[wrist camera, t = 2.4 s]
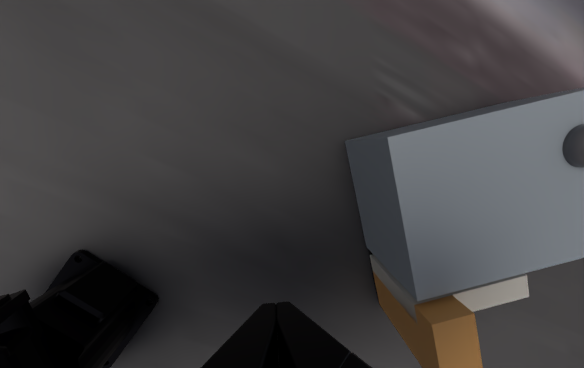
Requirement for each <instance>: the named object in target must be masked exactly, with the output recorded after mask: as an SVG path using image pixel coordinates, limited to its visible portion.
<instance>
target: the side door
mask: <svg viewBox="0 0 584 368" xmlns="http://www.w3.org/2000/svg"><path fill="white" fill-rule="evenodd" d="M370 260H371V265H372V270H373V275H374V280H375V285H376V290H377V295H378V299H379V304H380V306H381V307H382V309H383V310H384V312H385V313H386V315H387V316H388V318H389V319H390V321H391V322H392V324H393V325H394V327H395V328H396V330H397V331H398V332H399V334H400V335H401V337H402V338H403V340H404V341H405V343H406V344H407V346H408V347H409V349H410V350H411V352H412V353H413V355H414V356H415V357H416V359H417V360H418V362H419V363H420V365H421V366H422V368H483V367H482V360H481V353H480V347H479V340H478V334H477V327H476V321H475V314H474V313H473V312H474V311H478V310H481V309H485V308H489V307H493V306H496V305H500V304H504V303H508V302H511V301H515V300H519V299H523V298H526V297H529V290H528V282H527V275H525V274H520V275H516V276H512V277H508V278H505V279H501V280H497V281H493V282H489V283H486V284H482V285H478V286H474V287H470V288H467V289H463V290H459V291H455V292H451V293H448V294H444V295H440V296H436V297H432V298H429V299H425V300H421V301H417V300H416V299H415V298H414V297H413V296H412V295H411V294H410V293H409V292H408V291H407V290H406V289H405V288H404V287H403V285H402V284H401V283H400V282H399V281H398V280H397V279H396V278H395V277H394V276H393V275H392V274H391V273H390V272H389V271H388V269H387V268H386V267H385V266H384V265H383V264H382V263H381V262H380V261H379V260H378V259H377V258H376V257H375V256H374V255H373V254H372V255H370Z"/></svg>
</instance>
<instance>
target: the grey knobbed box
mask: <svg viewBox="0 0 584 368" xmlns="http://www.w3.org/2000/svg"><path fill="white" fill-rule="evenodd" d="M345 146H346V150H347V155H348V160H349V165H350V170H351V175H352V180H353V184H354V189H355V194H356V199H357V204H358V209H359V214H360V219H361V223H362V228H363V233H364V238H365V243H366V247H367V248H368V249H369V250H370V251H371V252H372V254H373V255H374V256H375V257H376V258H377V259H378V260H379V261H380V262H381V263H382V264H383V265H384V266H385V267H386V268H387V269H388V271H389V272H390V273H391V274H392V275H393V276H394V277H395V278H396V279H397V280H398V281H399V282H400V283H401V284H402V285H403V287H404V288H405V289H406V290H407V291H408V292H409V293H410V294H411V295H412V296H413V297H414V298H415V299H416V300H417V301H421V300H425V299H429V298H432V297H436V296H440V295H444V294H448V293H451V292H455V291H459V290H463V289H467V288H470V287H474V286H478V285H482V284H486V283H489V282H493V281H497V280H501V279H505V278H508V277H512V276H516V275H520V274H524V273H527V272H531V271H535V270H539V269H542V268H546V267H550V266H554V265H558V264H561V263H565V262H569V261H573V260H577V259H580V258H584V88H578V89H573V90H568V91H563V92H557V93H552V94H547V95H542V96H536V97H531V98H526V99H520V100H515V101H510V102H505V103H501V104H497V105H492V106H488V107H484V108H480V109H476V110H471V111H467V112H463V113H459V114H455V115H451V116H446V117H442V118H438V119H434V120H430V121H425V122H421V123H417V124H413V125H409V126H405V127H400V128H396V129H392V130H388V131H384V132H379V133H375V134H371V135H367V136H363V137H359V138H354V139H350V140H346V141H345Z"/></svg>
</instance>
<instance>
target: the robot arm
mask: <svg viewBox="0 0 584 368" xmlns="http://www.w3.org/2000/svg"><path fill="white" fill-rule="evenodd" d="M78 256H81V257H82V260H80V259H79V258H78ZM148 299H151V300H152V301H153V303H150V302H149V301H148ZM29 300H30V297H29V295H28V293H27V291H26V290H22V291H19V292H16V293H13V294H10V295H9V294H6V295H2V296H0V368H110V367H111V366H112V364H113V363H114V362H115V360H116V359H117V358H118V356H119V355H120V354H121V352H122V351H123V349H124V348H125V347H126V345H127V344H128V343H129V341H130V340H131V339H132V337H133V336H134V334H135V333H136V332H137V330H138V329H139V328H140V326H141V325H142V324H143V322H144V321H145V319H146V318H147V317H148V315H149V314H150V313H151V311H152V310H153V308H154V307H155V306H156V304H157V303H158V296H157V295H156V294H155V293H153V292H151V291H150V290H148V289H146V288H145V287H143V286H142V285H140V284H138V283H137V282H136V281H135V280H134V279H132V278H130V277H129V276H127V275H126V274H124V273H122V272H121V271H119V270H117V269H116V268H114V267H113V266H111V265H109V264H108V263H106V262H103V261H101V260H100V259H98V258H96V257H95V256H93V255H91V254H90V253H88V252H87V251H84V250H79V251H77V252H75V253H73V254H72V255H71V257H70V258H69V259H68V261H67V262H66V264H65V265H64V267H63V268H62V270H61V271H60V272H59V274H58V275H57V277H56V278H55V280H54V281H53V282H52V284H51V285H50V287H49V288H48V290H47V291H46V292H45V293H44V294H43V295H41V296H40V297H38V298H37V299H35V300H33V301H32V302H30V303H29ZM276 315H277V317H276ZM277 335H278V337H277ZM278 355H279V358H278ZM107 360H108V361H107ZM201 368H372V367H371V366H369V365H368V364H367V363H365V362H364V361H363V360H361V359H360V358H359V357H358V356H356V355H355V354H354V353H351V351H349V350H348V349H347V348H346V347H344V346H343V345H342V344H341V343H339V342H338V341H337V340H336V339H335V338H333V337H332V336H331V335H330V334H328V333H327V332H326V331H325V330H323V329H322V328H321V327H320V326H319V325H317V324H316V323H315V322H314V321H312V320H311V319H310V318H309V317H307V316H306V315H305V314H304V313H302V312H301V311H300V310H299V309H298V308H296V307H295V306H294V305H293V304H291V303H290V302H278V303H277V304H275V303H266V304H262V305H261V306H260V307H259V308H258V309H257V310H256V311H255V312H254V313H253V314H252V315H251V316H250V317H249V318H248V319H247V320H246V322H245V323H244V324H243V325H242V326H241V327H240V328H239V329H238V330H237V331H236V332H235V333H234V334H233V335H232V336H231V337H230V338H229V339H228V340H227V341H226V342H225V343H224V344H223V345H222V346H221V347H220V348H219V350H218V351H217V352H216V353H215V354H214V355H213V356H212V357H211V358H210V359H209V360H208V361H207V362H206V363H205V364H204V365H203V366H202V367H201Z"/></svg>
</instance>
